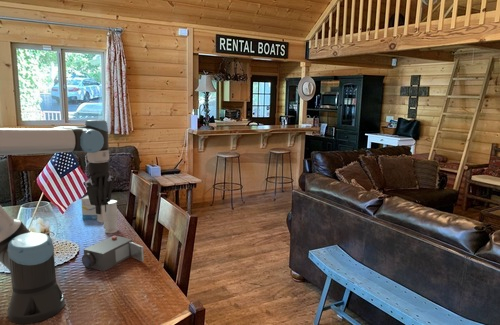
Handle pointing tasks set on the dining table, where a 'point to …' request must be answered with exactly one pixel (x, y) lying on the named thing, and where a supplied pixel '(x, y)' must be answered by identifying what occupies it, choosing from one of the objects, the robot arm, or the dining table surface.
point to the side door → (136, 251)
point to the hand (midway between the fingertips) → (101, 221)
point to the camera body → (106, 253)
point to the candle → (111, 217)
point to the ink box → (88, 209)
